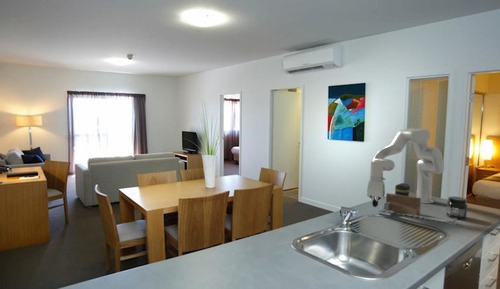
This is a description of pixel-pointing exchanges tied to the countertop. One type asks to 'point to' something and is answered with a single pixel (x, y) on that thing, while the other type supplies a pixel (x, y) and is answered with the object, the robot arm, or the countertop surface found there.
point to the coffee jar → (402, 189)
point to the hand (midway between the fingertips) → (375, 206)
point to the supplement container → (457, 207)
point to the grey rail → (419, 216)
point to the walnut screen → (402, 204)
